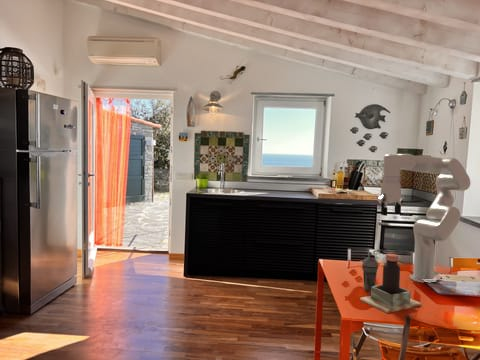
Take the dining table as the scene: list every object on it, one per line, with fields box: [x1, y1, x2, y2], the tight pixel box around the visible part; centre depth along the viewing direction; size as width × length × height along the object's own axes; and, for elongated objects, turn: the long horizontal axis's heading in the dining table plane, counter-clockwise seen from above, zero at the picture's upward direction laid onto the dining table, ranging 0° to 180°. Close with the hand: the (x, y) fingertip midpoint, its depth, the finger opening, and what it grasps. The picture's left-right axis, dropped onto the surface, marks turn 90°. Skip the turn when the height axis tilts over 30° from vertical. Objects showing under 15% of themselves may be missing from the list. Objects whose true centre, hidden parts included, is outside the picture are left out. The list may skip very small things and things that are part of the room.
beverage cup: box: [361, 247, 379, 292], centre depth 175 cm, size 7×7×20 cm
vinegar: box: [381, 253, 401, 295], centre depth 158 cm, size 7×7×20 cm
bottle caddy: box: [359, 284, 422, 314], centre depth 159 cm, size 20×15×6 cm
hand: (391, 214), depth 180 cm, fingers open, 9 cm apart
